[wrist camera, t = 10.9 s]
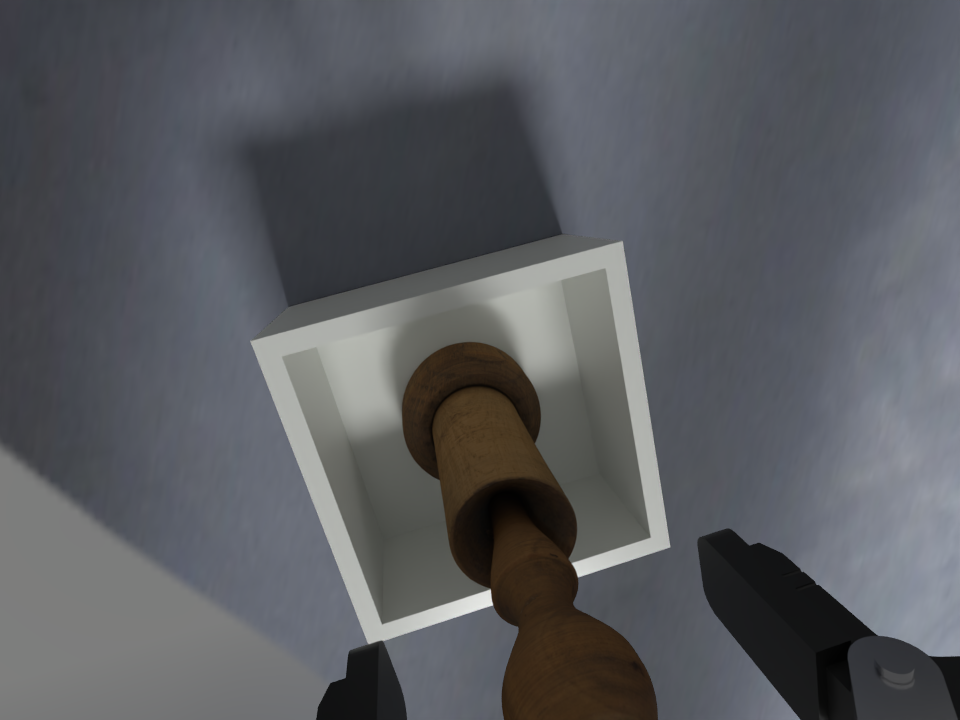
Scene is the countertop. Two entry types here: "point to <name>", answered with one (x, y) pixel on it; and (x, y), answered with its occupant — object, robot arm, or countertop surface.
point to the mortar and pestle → (518, 536)
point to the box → (379, 432)
